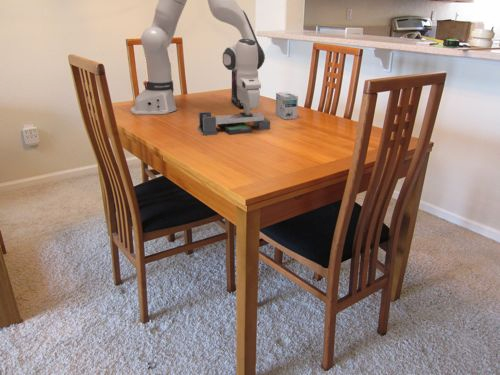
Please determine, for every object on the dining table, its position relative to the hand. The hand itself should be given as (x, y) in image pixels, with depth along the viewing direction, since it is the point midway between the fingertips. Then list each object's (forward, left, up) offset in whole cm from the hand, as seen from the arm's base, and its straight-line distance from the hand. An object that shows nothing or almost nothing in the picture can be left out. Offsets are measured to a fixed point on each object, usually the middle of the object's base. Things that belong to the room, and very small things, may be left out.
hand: (247, 114), depth 177 cm
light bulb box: (+24, +14, -7) cm, 28 cm away
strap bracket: (-6, 0, -6) cm, 8 cm away
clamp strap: (-6, 0, -3) cm, 7 cm away
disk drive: (-6, 0, -7) cm, 9 cm away
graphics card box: (+10, +42, -6) cm, 44 cm away
